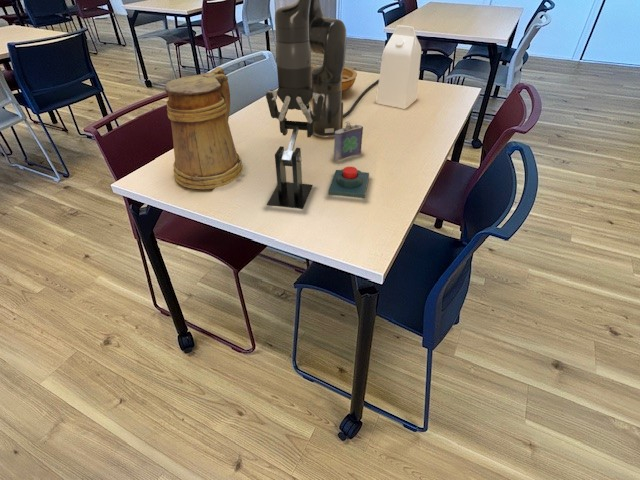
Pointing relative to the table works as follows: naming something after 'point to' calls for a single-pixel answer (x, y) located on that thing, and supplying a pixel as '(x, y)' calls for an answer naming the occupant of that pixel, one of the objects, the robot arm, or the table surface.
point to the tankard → (202, 130)
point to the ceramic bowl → (345, 78)
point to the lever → (292, 140)
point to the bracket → (289, 183)
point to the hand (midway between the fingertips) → (297, 135)
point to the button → (349, 172)
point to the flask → (348, 141)
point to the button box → (349, 185)
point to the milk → (400, 69)
